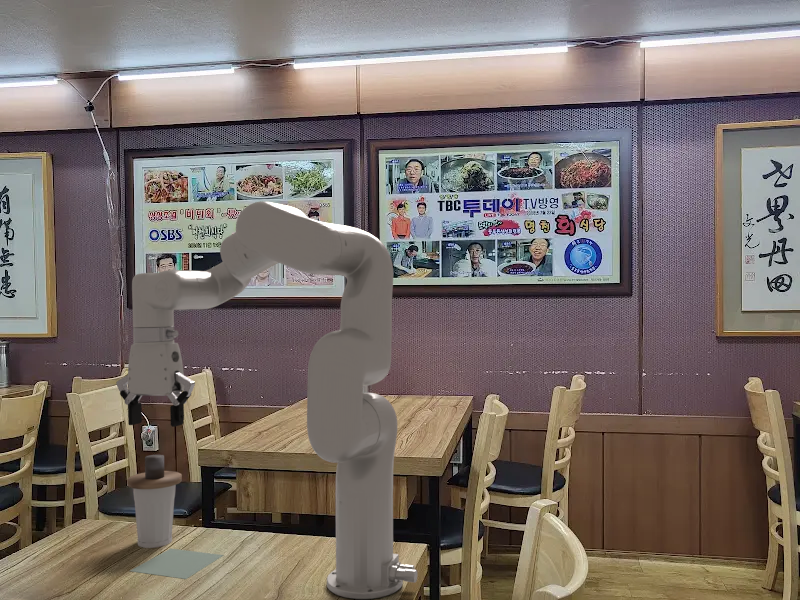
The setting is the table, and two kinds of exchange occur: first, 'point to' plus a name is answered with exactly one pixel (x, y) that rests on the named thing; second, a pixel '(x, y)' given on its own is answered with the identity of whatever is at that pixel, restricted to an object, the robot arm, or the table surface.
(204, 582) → the table surface
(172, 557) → the mat
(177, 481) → the lid
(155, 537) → the cup
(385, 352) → the robot arm
